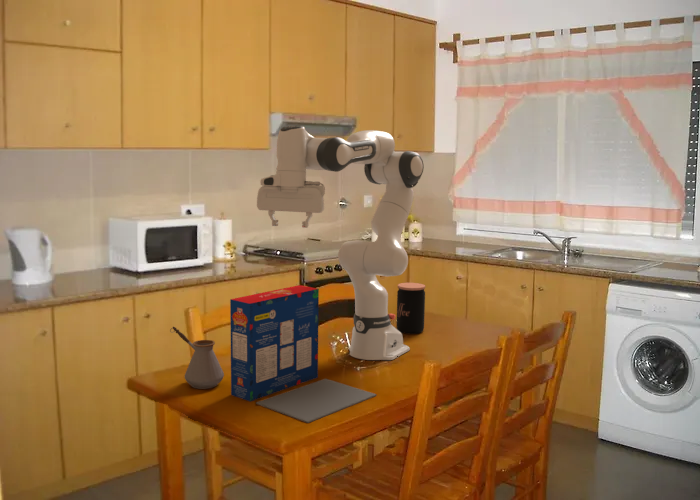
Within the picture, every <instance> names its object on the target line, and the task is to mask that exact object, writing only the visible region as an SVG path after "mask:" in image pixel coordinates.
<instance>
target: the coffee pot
mask: <svg viewBox="0 0 700 500" xmlns="http://www.w3.org/2000/svg"><path fill="white" fill-rule="evenodd" d="M172 330H173V331H172ZM169 332H170V333H176V334H177V335H178V336H179V338H180V339H182V340H183V341H184V342H185V343H187V344H188V345H189V346H190V347H191V348H192V349H193V350H194V351H193V354H192V357H191V359H190V361H189V364H188V367H187V369H186V370H185V373H184V379H185V381H186V383H188V385H190V386H191V387H192V388H194V389H199V390H202V389H203V390H206V389H212V388H215V387H217V386H218V385H219V383H221V381H223V379H224V376H225V374H224V371H223V369H222V367H221V364H220V361H219V360H218V358H217V355H216V353H215V352H214V345H215V344H216V342H215V340H211V339H199V340H196V341H193V342H191V340H190V339H189V338H188V337H187V336H186V335H185V334H184V333H183V332H181V331H180V329H177V327H175V326H172V328H170V330H169Z"/></svg>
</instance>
